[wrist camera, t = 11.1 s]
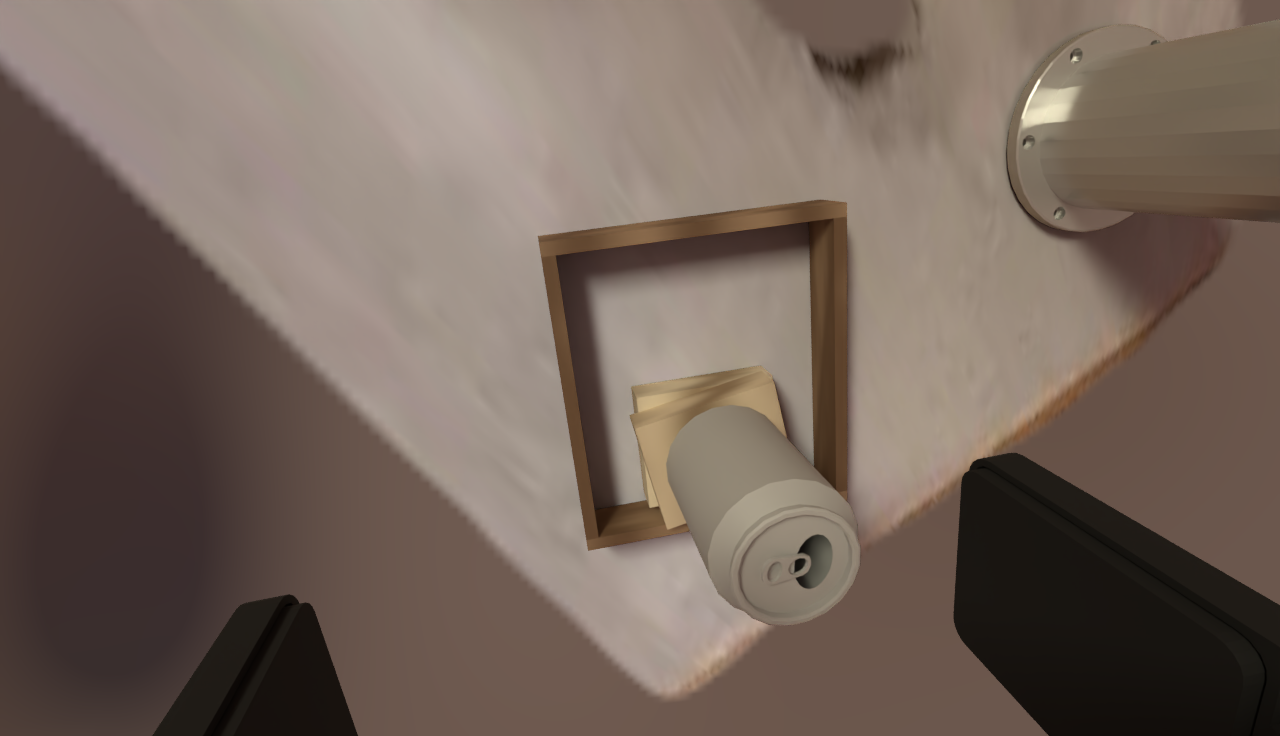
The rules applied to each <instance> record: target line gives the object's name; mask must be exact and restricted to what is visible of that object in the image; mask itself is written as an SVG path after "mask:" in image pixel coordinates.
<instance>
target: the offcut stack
mask: <svg viewBox="0 0 1280 736" xmlns="http://www.w3.org/2000/svg"><path fill="white" fill-rule="evenodd" d="M631 388H632V397H633V405H634V413H635V414H632V415H630V419H631V422H632V425H633V428H634V431H635V434H636V437H637V440H638V446H639V454H640V463H641V471H642V479H643V487H644V493H645V496H646V499H647V502H648V505H649V507H650V508H652V507H657V506H659V508H660V511H661V514H662V517H663V519H664V522H665V525H666V527H667V530H668V529H671V528H674V527H677V526H680V525H683V524H685V523H686V521H685V519H684V516H683V514H682V512H681V510H680V507H679V505H678V503H677V500H676V498H675V496H674V494H673V491H672V489H671V487H670V485H669V482H668V477H667V467H666V462H667V458H668V454H669V449H670V446H671V444H672V443H673V441H674V439H675V438H676V436H677V434H678V433H679V431H680V430H681V429H682V428H683V427H684V426H685V425H686V424H687V423H688V422H689V421H690V420H692V419H693V418H694V417H695V416H697V415H699V414H701V413H703V412H705V411H707V410H709V409H711V408H716V407H722V406H728V405H736V406H743V407H750V408H752V409H753V410H755V411H757V412H759V413H761V414H763V415H765V416H766V417H767V418H768V419H769V420H770V421H771V422H772V423H773V424H774V425H775V426H776V427H777V429H778V430H779V431H780V432H781V433H782V434H783V435H784V436H785V437H786V438H787V436H786V432H785V428H784V423H783V419H782V414H781V410H780V406H779V401H778V397H777V393H776V388H775V384H774V381H773V378H772V375H771V374H770V373H769V372H767V371H766V370H765V369H764V368H763V367H762V366H756V367H749V368H743V369H737V370H731V371H725V372H718V373H712V374H706V375H700V376H694V377H688V378H681V379H675V380H669V381H663V382H657V383H650V384H644V385H638V386H632V387H631Z"/></svg>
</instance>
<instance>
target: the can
mask: <svg viewBox="0 0 1280 736" xmlns="http://www.w3.org/2000/svg"><path fill="white" fill-rule="evenodd" d="M666 467H667V477H668V482H669V485H670V487H671V489H672V491H673V494H674V496H675V498H676V500H677V503H678V505H679V507H680V510H681V512H682V514H683V516H684V519H685V521H686V523H687V526H688V528H689V530H690V532H691V535H692V537H693V539H694V541H695V544H696V546H697V548H698V551H699V553H700V555H701V557H702V560H703V562H704V564H705V566H706V569H707V571H708V573H709V576H710V578H711V580H712V582H713V584H714V586H715V588H716V590H717V592H718V594H719V595H721V596H722V597H723V598H724V599H725V600H726V601H727V602H728V603H730V604H731V605H732V606H733V607H735V608H737V609H740V610H742V611H745V612H746V613H747V614H748V615H749V616H750V617H751V618H753V619H756V620H758V621H761V622H763V623H766V624H769V625H785V626H789V625H794V624H799V623H803V622H808V621H810V620H812V619H814V618H816V617H818V616H820V615H822V614H824V613H826V612H827V611H829V610H830V609H831V608H832V607H833V606H835V605H836V604H837V603H838V602H839V601H840V600H842V599H843V597H844V596H845V595H846V593H847V592H848V590H849V589H850V587H851V586H852V585H853V583H854V581H855V578H856V576H857V573H858V570H859V567H860V548H861V546H860V544H859V541H858V524H857V522H856V519H855V516H854V514H853V511H852V508H851V506H850V505H849V504H848V503H847V502H846V501H845V499H844V498H843V497H842V496H841V495H840V494H839V493H838V492H837V491H836V490H835V489H834V488H833V487H832V486H831V484H830V483H829V482H828V481H827V480H826V479H825V478H824V477H823V476H822V475H821V474H820V473H819V472H818V471H817V470H816V469H815V468H814V467H813V465H812V464H811V463H810V462H809V461H808V460H807V459H806V458H805V457H804V456H803V455H802V454H801V453H800V452H799V451H798V450H797V449H796V448H795V446H794V445H793V444H792V443H791V442H790V441H789V440H788V439H787V438H786V437H785V436H784V435H783V434H782V433H781V432H780V431H779V430H778V429H777V427H776V426H775V425H774V424H773V423H772V422H771V421H770V420H769V419H768V418H767V417H766V416H765V415H763V414H761V413H759V412H757V411H755V410H753V409H752V408H750V407H743V406H736V405H728V406H722V407H716V408H711V409H709V410H707V411H705V412H703V413H701V414H699V415H697V416H695V417H694V418H693V419H692V420H690V421H689V422H688V423H687V424H686V425H685V426H684V427H683V428H682V429H681V430H680V431H679V433H678V434H677V436H676V438H675V439H674V441H673V443H672V444H671V446H670V449H669V454H668V458H667V462H666Z"/></svg>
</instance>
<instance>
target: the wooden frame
mask: <svg viewBox="0 0 1280 736" xmlns="http://www.w3.org/2000/svg"><path fill="white" fill-rule="evenodd" d="M802 222H809V241H810V290H811V339H812V387H813V436H814V468H815V469H816V470H817V471H818V472H819V473H820V474H821V475H822V476H823V477H824V478H825V479H826V480H827V481H828V482H829V483H830V484H831V486H832V487H833V488H834V489H835V490H836V491H837V492H838V493H839V494H840V495H841V496H842V497H843V498H844V499H845V501H847V203H846V202H837V201H828V200H815V201H807V202H799V203H791V204H784V205H776V206H768V207H760V208H753V209H745V210H737V211H729V212H722V213H714V214H706V215H698V216H691V217H683V218H675V219H667V220H660V221H652V222H644V223H636V224H629V225H621V226H613V227H605V228H598V229H590V230H582V231H574V232H567V233H559V234H551V235H543V236H538V239H539V246H540V252H541V259H542V265H543V271H544V277H545V284H546V290H547V296H548V302H549V309H550V315H551V321H552V327H553V334H554V340H555V346H556V352H557V359H558V365H559V371H560V377H561V384H562V390H563V396H564V402H565V409H566V415H567V421H568V427H569V434H570V440H571V446H572V452H573V459H574V465H575V471H576V477H577V484H578V490H579V496H580V502H581V509H582V515H583V521H584V528H585V534H586V540H587V546H588V551H589V550H594V549H600V548H605V547H610V546H615V545H620V544H625V543H631V542H636V541H641V540H646V539H651V538H657V537H662V536H667V535H672V534H677V533H682V532H688V531H690V530H689V528H688V526H687V523H685V524H683V525H680V526H677V527H674V528H671V529H668V530H667V527H666V525H665V522H664V519H663V517H662V514H661V511H660V508H659V506H657V507H652V508H650V507H649V505H648V502H647V500H646V501H640V502H635V503H629V504H624V505H618V506H613V507H608V508H602V509H597V510H594V504H593V497H592V490H591V484H590V477H589V471H588V464H587V458H586V451H585V445H584V438H583V431H582V425H581V418H580V412H579V405H578V399H577V392H576V385H575V379H574V372H573V366H572V359H571V353H570V346H569V339H568V333H567V326H566V320H565V313H564V307H563V300H562V294H561V287H560V280H559V274H558V267H557V261H556V255H562V254H570V253H577V252H585V251H592V250H600V249H607V248H615V247H622V246H630V245H637V244H645V243H652V242H660V241H667V240H675V239H682V238H690V237H697V236H705V235H712V234H720V233H727V232H735V231H742V230H750V229H757V228H765V227H772V226H780V225H787V224H795V223H802Z"/></svg>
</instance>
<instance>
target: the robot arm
mask: <svg viewBox="0 0 1280 736" xmlns="http://www.w3.org/2000/svg"><path fill="white" fill-rule="evenodd" d="M1007 160H1008V171H1009V175H1010V179H1011V184H1012V187H1013V189H1014V191H1015V193H1016V195H1017V198H1018V200H1019V201H1020V203H1021V204H1022V205H1023V206H1024V208H1025V209H1026V210H1027V212H1028V213H1029V214H1031V215H1032V216H1033V217H1034V218H1035V219H1037V220H1038V221H1039V222H1041V223H1043V224H1045V225H1047V226H1050V227H1052V228H1055V229H1060V230H1066V231H1076V232H1088V231H1095V230H1101V229H1104V228H1107V227H1110V226H1112V225H1115V224H1117V223H1119V222H1121V221H1122V220H1124V219H1126V218H1128V217H1130V216H1131V215H1133V214H1134V213H1135V212H1139V213H1153V214H1166V215H1180V216H1193V217H1207V218H1221V219H1234V220H1249V221H1261V222H1275V223H1280V20H1275V21H1270V22H1265V23H1260V24H1255V25H1250V26H1245V27H1239V28H1234V29H1229V30H1224V31H1219V32H1214V33H1209V34H1204V35H1199V36H1194V37H1189V38H1184V39H1179V40H1174V41H1169V42H1168V41H1167V40H1166V39H1165V38H1164V37H1162V36H1160V35H1159V34H1157V33H1156V32H1154V31H1152V30H1151V29H1148V28H1144V27H1141V26H1137V25H1121V24H1118V25H1113V26H1108V27H1103V28H1098V29H1095V30H1092V31H1089V32H1086V33H1083V34H1080V35H1079V36H1077V37H1075V38H1073V39H1072V40H1070V41H1068V42H1066V43H1065V44H1063V45H1062V46H1061V47H1060V48H1058V49H1057V50H1056V51H1055V52H1054V53H1052V54H1051V55H1050V56H1049V57H1048V58H1047V59H1046V60H1045V61H1044V62H1043V64H1042V65H1041V66H1040V67H1039V68H1038V69H1037V70H1036V72H1035V73H1034V74H1033V76H1032V78H1031V79H1030V81H1029V82H1028V84H1027V85H1026V87H1025V89H1024V90H1023V92H1022V95H1021V97H1020V99H1019V101H1018V104H1017V106H1016V108H1015V111H1014V114H1013V118H1012V122H1011V125H1010V129H1009V136H1008V145H1007ZM954 623H955V627H956V630H957V632H958V634H959V636H960V638H961V639H962V641H963V642H964V643H965V645H966V646H967V647H968V648H969V649H970V650H971V651H972V652H973V653H974V654H975V656H976V657H977V658H978V659H979V660H980V661H981V662H982V663H983V664H984V665H985V667H986V668H988V670H989V671H990V672H991V673H992V674H993V675H994V676H995V677H996V679H997V680H998V681H999V682H1000V683H1001V684H1002V685H1003V686H1004V687H1005V688H1006V689H1007V690H1008V692H1009V693H1010V694H1011V695H1012V696H1013V697H1014V698H1015V699H1016V700H1017V701H1018V703H1019V704H1020V705H1021V706H1022V707H1023V708H1024V709H1025V710H1026V711H1027V712H1028V713H1029V715H1030V716H1031V717H1032V718H1033V719H1034V720H1035V721H1036V722H1037V723H1038V724H1039V725H1040V727H1042V729H1043V730H1044V731H1045V732H1046V733H1047V734H1048V735H1049V736H1280V605H1278V604H1277V603H1275V602H1273V601H1271V600H1270V599H1268V598H1266V597H1265V596H1263V595H1261V594H1260V593H1258V592H1256V591H1254V590H1253V589H1251V588H1249V587H1247V586H1246V585H1244V584H1242V583H1241V582H1239V581H1237V580H1235V579H1234V578H1232V577H1230V576H1229V575H1227V574H1225V573H1223V572H1222V571H1220V570H1218V569H1217V568H1215V567H1213V566H1211V565H1210V564H1208V563H1206V562H1204V561H1203V560H1201V559H1199V558H1198V557H1196V556H1194V555H1192V554H1190V553H1189V552H1187V551H1186V550H1184V549H1182V548H1180V547H1179V546H1177V545H1175V544H1174V543H1172V542H1170V541H1168V540H1167V539H1165V538H1163V537H1162V536H1160V535H1158V534H1156V533H1155V532H1153V531H1151V530H1150V529H1148V528H1146V527H1144V526H1143V525H1141V524H1139V523H1138V522H1136V521H1134V520H1132V519H1131V518H1129V517H1127V516H1126V515H1124V514H1122V513H1120V512H1119V511H1117V510H1115V509H1114V508H1112V507H1110V506H1108V505H1107V504H1105V503H1103V502H1102V501H1099V500H1098V499H1096V498H1094V497H1093V496H1091V495H1090V494H1088V493H1086V492H1084V491H1083V490H1081V489H1079V488H1078V487H1076V486H1074V485H1072V484H1071V483H1069V482H1067V481H1065V480H1064V479H1062V478H1060V477H1059V476H1057V475H1055V474H1053V473H1052V472H1050V471H1048V470H1046V469H1045V468H1043V467H1041V466H1040V465H1038V464H1036V463H1035V462H1033V461H1031V460H1029V459H1028V458H1026V457H1024V456H1023V455H1020V454H1017V453H1007V454H1002V455H997V456H992V457H987V458H982V459H977V460H976V461H974V462H973V463H972V465H971V466H970V470H969V471H968V472H966V473H965V474H964V476H963V478H962V484H961V501H960V518H959V534H958V550H957V567H956V583H955V600H954ZM153 736H358V735H357V732H356V729H355V726H354V723H353V720H352V718H351V715H350V712H349V709H348V706H347V703H346V700H345V697H344V694H343V692H342V689H341V686H340V683H339V680H338V677H337V674H336V671H335V668H334V666H333V663H332V660H331V657H330V654H329V651H328V649H327V646H326V643H325V640H324V637H323V634H322V631H321V628H320V625H319V622H318V619H317V617H316V614H315V611H314V609H313V607H312V606H311V605H310V604H309V603H301V604H299V602H298V600H297V599H296V598H295V597H294V596H293V595H284V596H278V597H273V598H268V599H263V600H258V601H253V602H248V603H244V604H242V605H240V606H239V607H238V608H237V609H236V611H235V612H234V613H233V615H232V617H231V618H230V619H229V621H228V623H227V624H226V626H225V627H224V629H223V630H222V632H221V633H220V635H219V636H218V638H217V639H216V641H215V642H214V644H213V645H212V647H211V648H210V650H209V651H208V653H207V654H206V656H205V657H204V659H203V660H202V662H201V663H200V665H199V666H198V668H197V669H196V671H195V672H194V674H193V675H192V677H191V678H190V680H189V681H188V683H187V684H186V686H185V687H184V689H183V690H182V692H181V693H180V695H179V696H178V698H177V699H176V701H175V702H174V704H173V705H172V707H171V708H170V710H169V712H168V713H167V715H166V716H165V718H164V719H163V721H162V722H161V724H160V725H159V727H158V728H157V730H156V731H155V733H154V734H153Z"/></svg>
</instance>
